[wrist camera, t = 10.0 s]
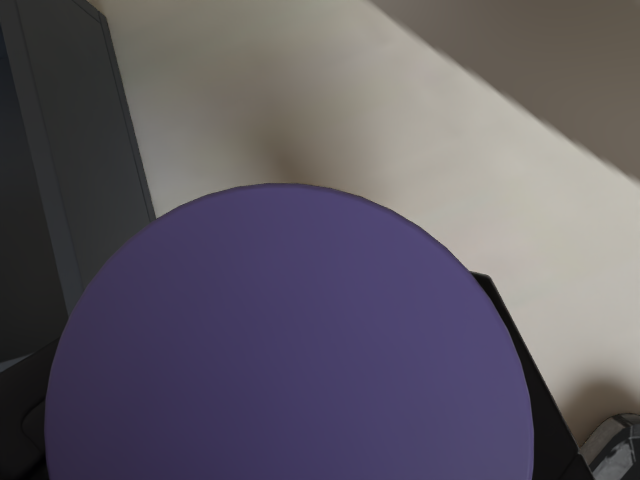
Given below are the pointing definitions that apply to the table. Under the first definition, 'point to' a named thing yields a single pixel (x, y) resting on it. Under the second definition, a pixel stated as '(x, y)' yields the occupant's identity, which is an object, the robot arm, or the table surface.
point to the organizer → (60, 166)
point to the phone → (615, 449)
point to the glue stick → (286, 352)
